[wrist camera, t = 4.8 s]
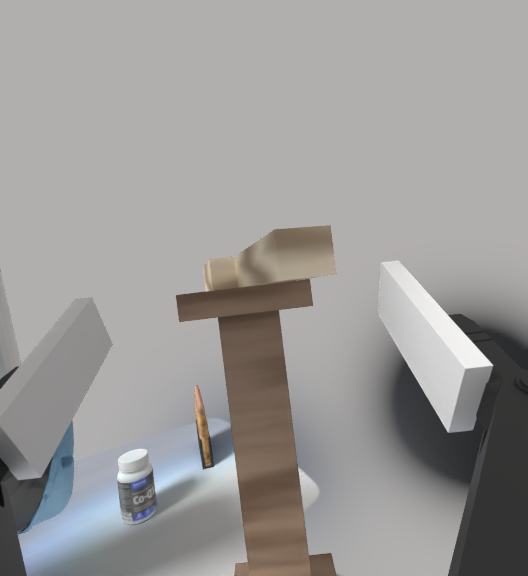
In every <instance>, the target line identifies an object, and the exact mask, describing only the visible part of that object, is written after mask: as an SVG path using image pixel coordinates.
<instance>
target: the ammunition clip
mask: <svg viewBox="0 0 528 576" xmlns="http://www.w3.org/2000/svg"><path fill="white" fill-rule="evenodd" d="M195 411H196V425H197V433H198V441H199V448H200V454H201V460H202V467H203V469H206V468H210V467H214V465H213V457H212V449H211V441H210V435H209V431H208V424H207V420H206V416H205V411H204V406H203V402H202V398H201V394H200V390H199V388H198V386H197V385H196V387H195Z"/></svg>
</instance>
